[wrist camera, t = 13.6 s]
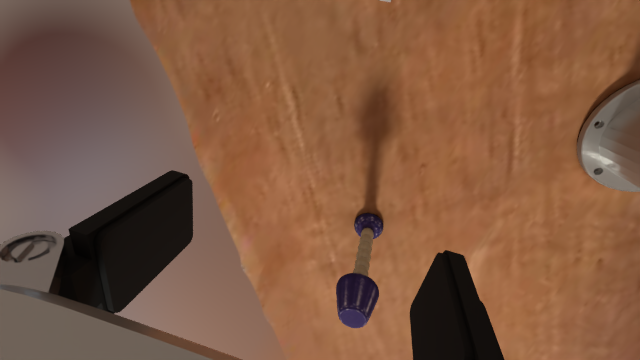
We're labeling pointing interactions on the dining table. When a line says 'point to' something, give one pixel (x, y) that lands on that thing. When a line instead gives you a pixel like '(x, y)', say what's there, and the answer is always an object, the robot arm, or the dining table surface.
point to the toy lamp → (359, 277)
